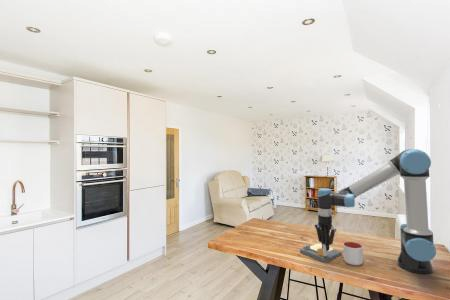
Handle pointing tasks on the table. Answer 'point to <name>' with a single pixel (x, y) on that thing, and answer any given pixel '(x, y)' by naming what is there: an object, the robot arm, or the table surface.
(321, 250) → the toggle
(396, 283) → the table surface
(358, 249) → the cup
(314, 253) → the gray square tray
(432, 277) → the table surface
